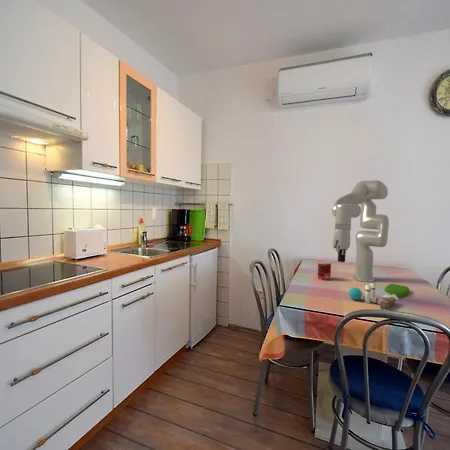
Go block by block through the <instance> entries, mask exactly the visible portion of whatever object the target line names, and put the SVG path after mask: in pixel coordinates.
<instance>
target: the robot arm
mask: <svg viewBox="0 0 450 450" xmlns="http://www.w3.org/2000/svg"><path fill="white" fill-rule="evenodd" d="M388 194H389V189H388V186H387V185H386V184H385V183H384V182H383V181H380V180H375V179H374V180H362V181H359V182H357V183H356V184H355V186H354V187H353V189H352V190H351V192H349V193H347V194H345V195H342V196H340V197H339V198H338V199H336V201H335V203H334V204H333V206H332V209H331V213H332V215H333V217H335V219H334V220H335V221H334V226H335V227H334V233H333V238H332V239H333V240H332V248H333V249H335V251H336V252H337V262H339V263H345V262H346V254H347V251H348V250H349V248H350V247H351V229H352V219H353V218H358V217H359V216H360V219H359V226H360V228H362V229H367V230H359V231H357V232H356V233H355V243H356V245H355V246H356V257H355V275H353V276H352V279H353V280H355V281H359V282H365V283H374V282H375V280H376V278H374V277H373V275H374V272H373V268H374V267H373V264H374V251H373V249H371V247H374V248H384V247H386V246H387V244H388V236H389V227H390V224H389V223H390V221H389V216H387V215H386V214H378V213H377V205H376V204H375V203H374V201H373V200H385V199H386V198H387V197H388V196H389V195H388ZM372 230H377V231H372Z"/></svg>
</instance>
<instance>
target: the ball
mask: <svg viewBox="0 0 450 450" xmlns="http://www.w3.org/2000/svg"><path fill="white" fill-rule="evenodd" d="M348 296H349V297H350V298H351V300H354V301H357V300H358V301H359V300H361V298H363V292H362V290H361V289H360V288H358V287H352V288H350V289H349V290H348Z"/></svg>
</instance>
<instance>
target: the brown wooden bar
mask: <svg viewBox="0 0 450 450" xmlns="http://www.w3.org/2000/svg"><path fill="white" fill-rule="evenodd" d="M383 300H384V301H382V302H381V304H380V308H381V309H380V310H384V309H386V310H387V308H388V309H389V308H391V307H393V306H395V305H396V300H395V298H393V297H389V298H388V299H386V298H385V299H383Z"/></svg>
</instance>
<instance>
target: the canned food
mask: <svg viewBox="0 0 450 450" xmlns="http://www.w3.org/2000/svg"><path fill="white" fill-rule="evenodd" d="M331 270H332V262H330V261H326V260H320V261H318V263H317V279H318V280H320V279H321V280H320V281H330V280H331V277H332V276H331V275H332V274H331V272H332V271H331Z"/></svg>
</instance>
